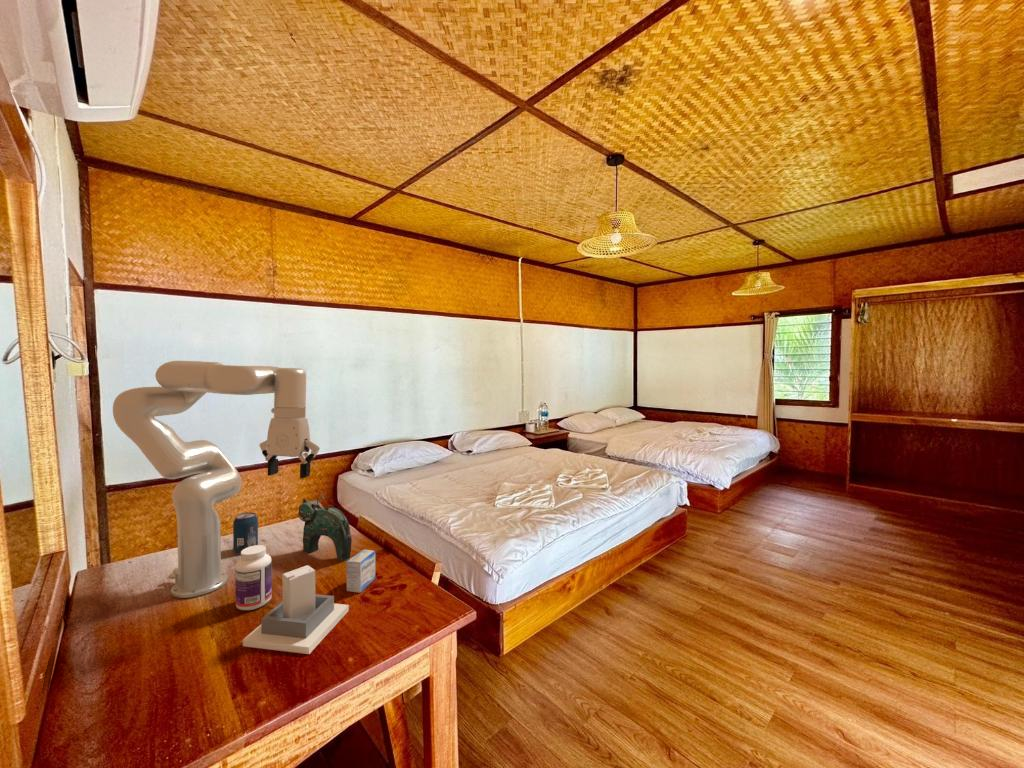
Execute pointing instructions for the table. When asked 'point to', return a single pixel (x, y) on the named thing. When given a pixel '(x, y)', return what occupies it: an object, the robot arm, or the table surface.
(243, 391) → the robot arm
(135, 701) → the table surface
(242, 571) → the pill bottle
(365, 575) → the medicine box
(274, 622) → the socket stand
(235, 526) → the soda can
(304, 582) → the skincare box
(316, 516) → the spotted teal figurine
